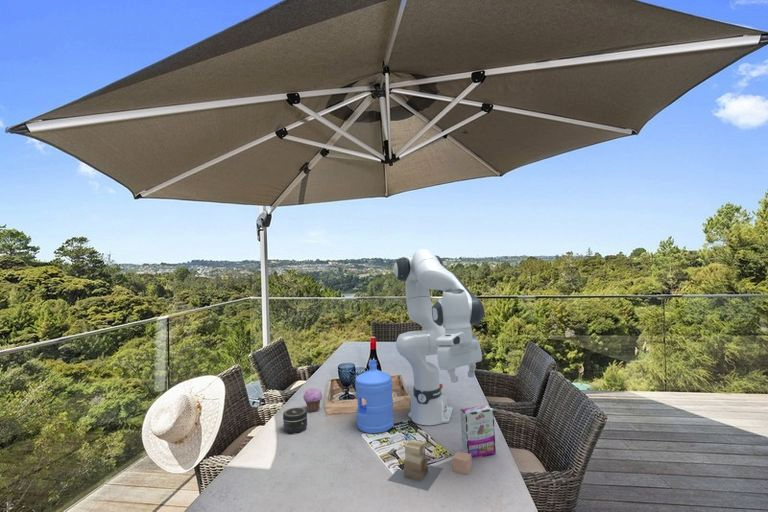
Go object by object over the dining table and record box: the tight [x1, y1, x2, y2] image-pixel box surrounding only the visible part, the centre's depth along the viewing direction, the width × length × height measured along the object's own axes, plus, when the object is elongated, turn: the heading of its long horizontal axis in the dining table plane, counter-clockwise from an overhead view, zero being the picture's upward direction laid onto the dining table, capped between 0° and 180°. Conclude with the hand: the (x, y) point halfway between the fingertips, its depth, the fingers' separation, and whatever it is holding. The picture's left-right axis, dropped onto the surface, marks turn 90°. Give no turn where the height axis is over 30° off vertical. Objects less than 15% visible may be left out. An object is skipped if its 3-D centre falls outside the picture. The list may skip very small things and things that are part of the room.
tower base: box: [402, 455, 429, 481], centre depth 137 cm, size 6×6×5 cm
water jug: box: [354, 359, 395, 434], centre depth 176 cm, size 16×16×28 cm
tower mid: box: [404, 439, 426, 464], centre depth 137 cm, size 5×5×5 cm
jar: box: [282, 407, 308, 434], centre depth 176 cm, size 10×10×8 cm
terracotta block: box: [451, 451, 473, 476], centre depth 139 cm, size 5×5×5 cm
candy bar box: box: [459, 404, 497, 459], centre depth 149 cm, size 11×5×16 cm, turn 105°
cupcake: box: [303, 388, 323, 413], centre depth 197 cm, size 9×9×10 cm
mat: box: [387, 464, 444, 492], centre depth 137 cm, size 14×14×1 cm
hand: (463, 379), depth 137 cm, fingers open, 8 cm apart
